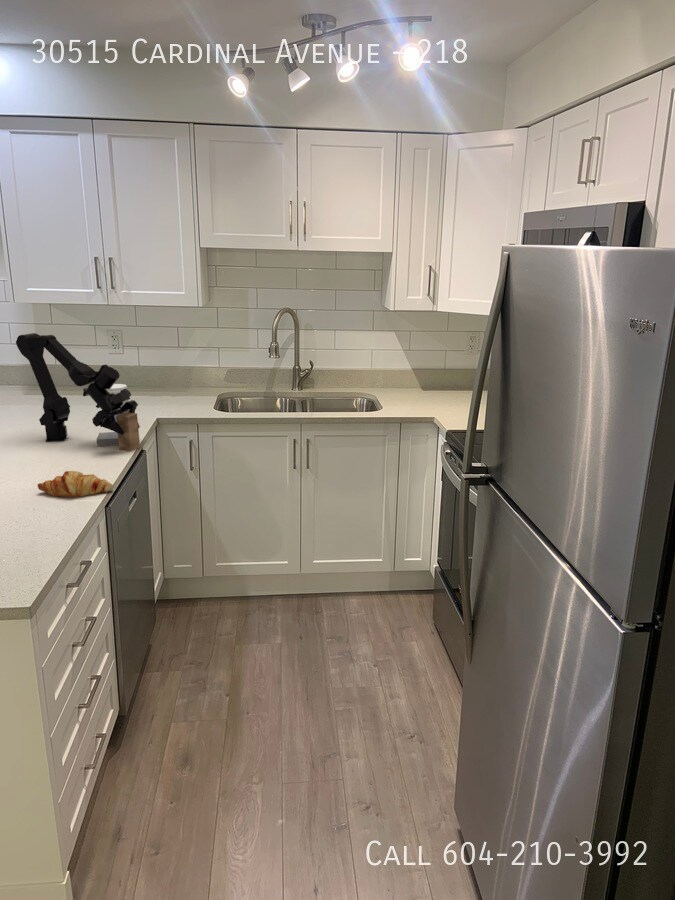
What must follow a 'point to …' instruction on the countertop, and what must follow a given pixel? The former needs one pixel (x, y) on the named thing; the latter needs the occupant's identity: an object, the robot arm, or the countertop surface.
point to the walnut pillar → (128, 431)
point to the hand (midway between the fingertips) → (131, 431)
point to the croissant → (75, 485)
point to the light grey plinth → (107, 439)
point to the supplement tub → (117, 391)
